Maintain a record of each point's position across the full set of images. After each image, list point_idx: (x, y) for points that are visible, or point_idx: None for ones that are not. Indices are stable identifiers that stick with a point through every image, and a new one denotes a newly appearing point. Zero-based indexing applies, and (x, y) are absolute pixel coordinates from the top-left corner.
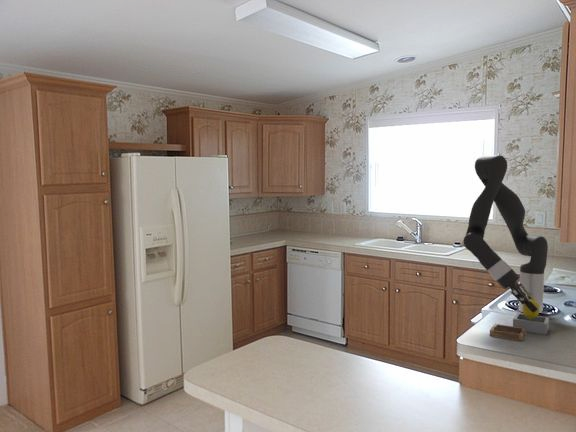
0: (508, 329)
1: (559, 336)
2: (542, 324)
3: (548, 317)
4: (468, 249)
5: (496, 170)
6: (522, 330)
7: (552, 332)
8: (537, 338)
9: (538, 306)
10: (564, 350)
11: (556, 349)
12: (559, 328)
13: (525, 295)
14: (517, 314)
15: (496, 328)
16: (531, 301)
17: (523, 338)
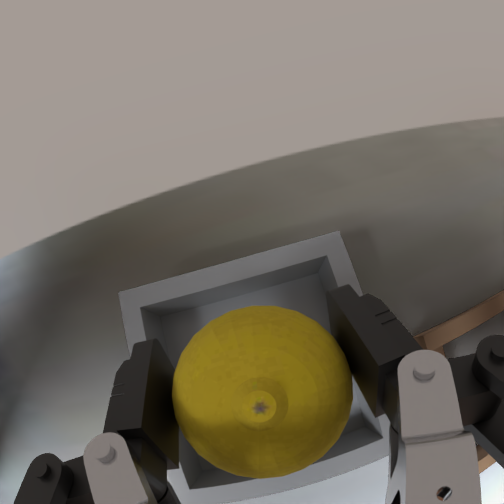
0: None
1: (292, 202)
2: (346, 259)
3: (124, 294)
4: None
5: None
6: (473, 323)
7: (238, 255)
8: (429, 260)
9: (255, 306)
10: (462, 139)
11: (478, 159)
12: (117, 261)
13: (465, 437)
14: (227, 494)
15: (478, 452)
16: (315, 379)
17: (483, 301)
